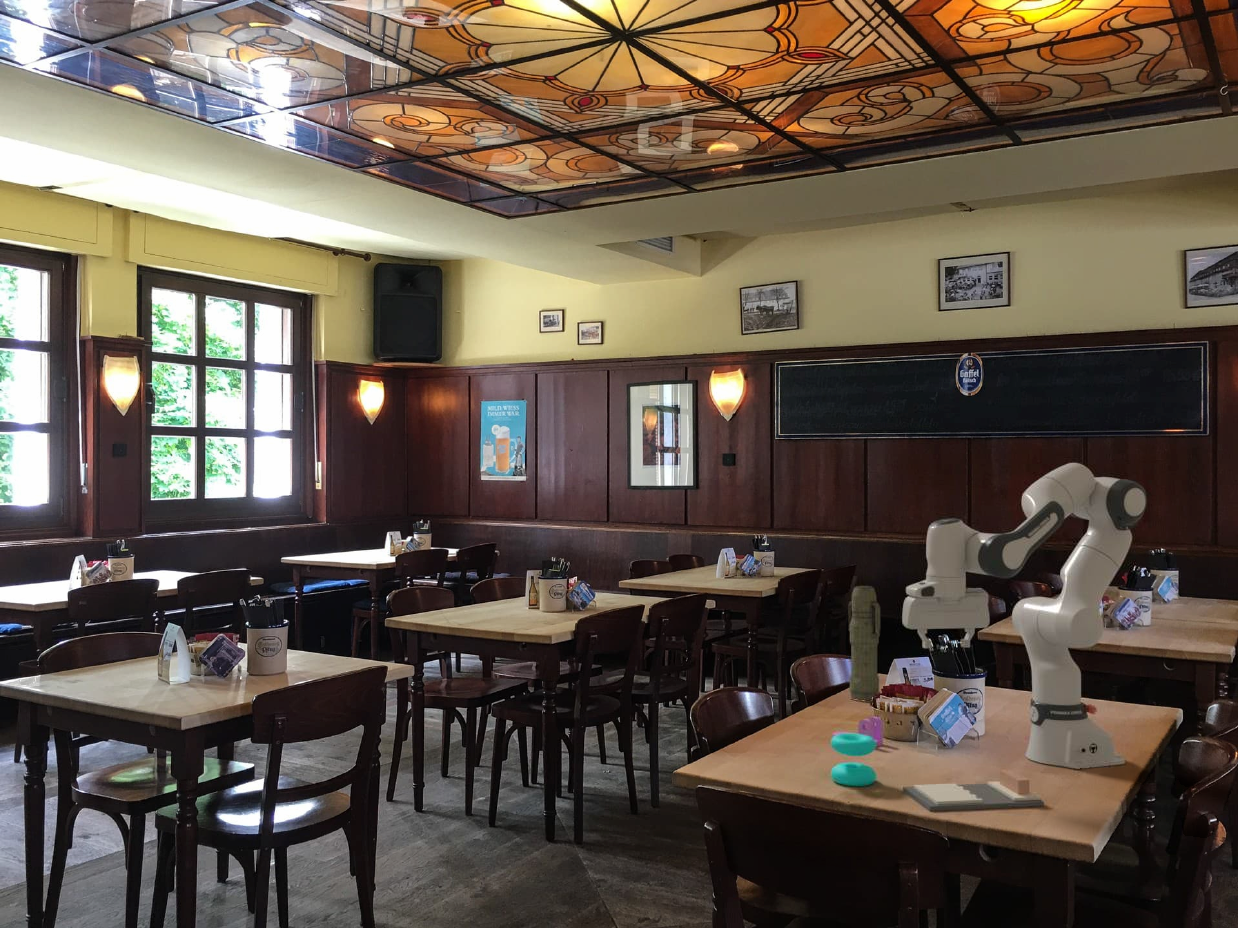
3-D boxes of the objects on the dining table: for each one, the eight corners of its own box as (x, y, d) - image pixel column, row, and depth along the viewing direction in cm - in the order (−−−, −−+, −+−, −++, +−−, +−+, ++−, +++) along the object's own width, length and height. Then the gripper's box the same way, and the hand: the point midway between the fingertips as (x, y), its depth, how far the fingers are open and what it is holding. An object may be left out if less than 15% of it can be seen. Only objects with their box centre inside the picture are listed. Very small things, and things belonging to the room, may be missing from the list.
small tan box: (1012, 783, 236) (1012, 767, 236) (1041, 799, 224) (1041, 782, 224) (987, 784, 235) (987, 767, 235) (1014, 800, 223) (1014, 783, 223)
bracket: (882, 744, 275) (882, 717, 275) (870, 748, 271) (870, 720, 271) (840, 735, 285) (840, 709, 285) (828, 739, 281) (828, 712, 281)
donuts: (822, 737, 241) (844, 729, 248) (822, 781, 241) (845, 772, 248) (862, 744, 234) (883, 736, 242) (862, 790, 234) (884, 780, 242)
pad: (1010, 787, 237) (1010, 779, 237) (1043, 806, 223) (1043, 797, 223) (903, 791, 233) (903, 783, 233) (929, 810, 219) (929, 802, 219)
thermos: (856, 694, 339) (856, 584, 340) (888, 699, 331) (888, 586, 331) (839, 697, 333) (839, 585, 334) (871, 703, 325) (871, 588, 325)
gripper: (981, 586, 253) (982, 644, 253) (899, 587, 251) (899, 646, 251) (994, 589, 247) (994, 648, 247) (910, 590, 244) (910, 650, 244)
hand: (946, 647), depth 249 cm, fingers open, 8 cm apart
